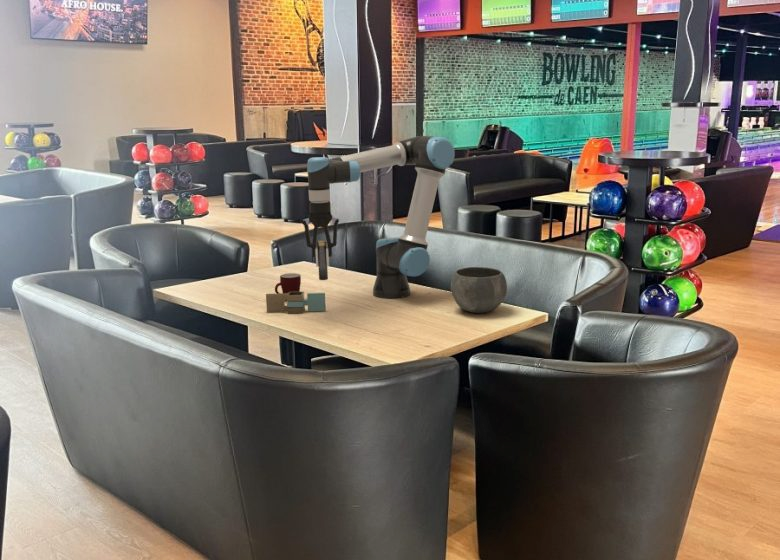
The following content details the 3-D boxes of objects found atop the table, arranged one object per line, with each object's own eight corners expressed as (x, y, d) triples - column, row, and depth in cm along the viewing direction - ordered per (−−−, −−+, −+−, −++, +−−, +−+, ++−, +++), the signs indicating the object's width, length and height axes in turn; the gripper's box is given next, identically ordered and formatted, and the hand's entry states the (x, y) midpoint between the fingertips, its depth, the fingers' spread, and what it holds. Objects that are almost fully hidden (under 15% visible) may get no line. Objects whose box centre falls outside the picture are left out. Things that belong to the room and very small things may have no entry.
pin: (328, 278, 284) (326, 240, 281) (327, 280, 281) (325, 242, 278) (319, 278, 284) (317, 240, 281) (318, 280, 281) (316, 242, 278)
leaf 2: (287, 313, 288) (286, 295, 287) (289, 308, 294) (288, 291, 292) (324, 312, 288) (324, 294, 287) (326, 308, 294) (325, 291, 292)
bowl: (441, 307, 293) (441, 268, 290) (489, 301, 300) (490, 263, 297) (465, 321, 274) (465, 280, 271) (516, 314, 282) (517, 274, 278)
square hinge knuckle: (304, 309, 294) (304, 291, 292) (303, 313, 288) (302, 295, 287) (268, 310, 294) (267, 292, 292) (266, 314, 288) (264, 296, 287)
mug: (281, 304, 302) (279, 279, 299) (272, 300, 308) (270, 275, 306) (305, 300, 307) (304, 275, 305) (296, 296, 314) (294, 272, 312)
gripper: (343, 199, 279) (345, 262, 285) (298, 200, 279) (301, 264, 285) (341, 202, 272) (344, 267, 278) (295, 203, 272) (299, 268, 278)
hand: (322, 265), depth 281 cm, fingers closed on pin, 3 cm apart
